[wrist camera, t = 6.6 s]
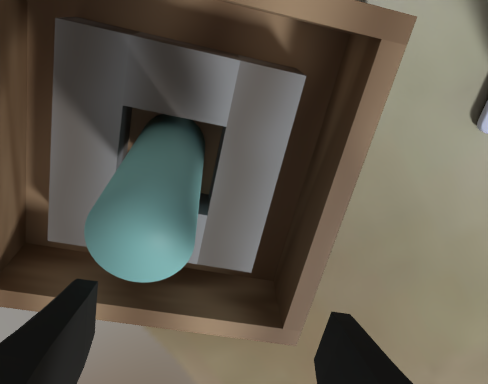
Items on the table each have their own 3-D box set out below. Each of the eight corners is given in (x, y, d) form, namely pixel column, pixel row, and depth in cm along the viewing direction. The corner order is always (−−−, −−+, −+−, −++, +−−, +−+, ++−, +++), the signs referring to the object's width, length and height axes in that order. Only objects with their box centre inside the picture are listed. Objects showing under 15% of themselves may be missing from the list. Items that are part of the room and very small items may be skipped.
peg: (208, 117, 20) (200, 195, 11) (201, 177, 21) (189, 286, 13) (141, 108, 19) (83, 181, 11) (138, 170, 20) (84, 277, 12)
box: (373, 15, 19) (417, 16, 14) (283, 290, 25) (296, 346, 21) (9, -80, 16) (-62, -110, 12) (11, 249, 23) (-35, 302, 19)
